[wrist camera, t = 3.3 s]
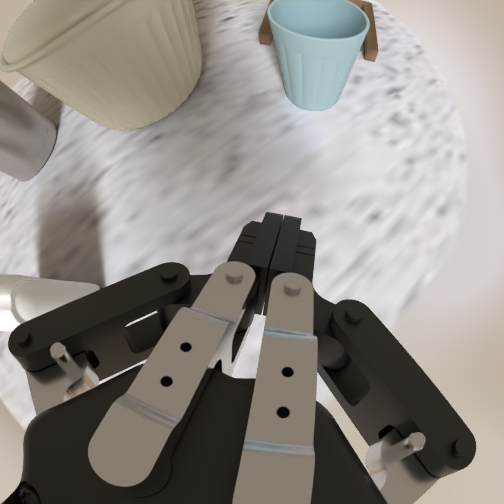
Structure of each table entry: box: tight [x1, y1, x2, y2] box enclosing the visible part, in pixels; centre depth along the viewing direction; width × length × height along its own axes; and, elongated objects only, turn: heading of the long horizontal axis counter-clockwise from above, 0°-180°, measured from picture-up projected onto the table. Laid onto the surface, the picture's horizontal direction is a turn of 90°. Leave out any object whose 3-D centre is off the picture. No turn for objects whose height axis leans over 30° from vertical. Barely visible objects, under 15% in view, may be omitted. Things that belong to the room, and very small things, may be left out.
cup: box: [267, 0, 370, 111], centre depth 20 cm, size 8×8×10 cm
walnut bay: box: [259, 0, 378, 62], centre depth 26 cm, size 13×12×2 cm
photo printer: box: [0, 275, 100, 331], centre depth 19 cm, size 10×4×12 cm, turn 96°
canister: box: [0, 0, 202, 131], centre depth 17 cm, size 18×18×21 cm
